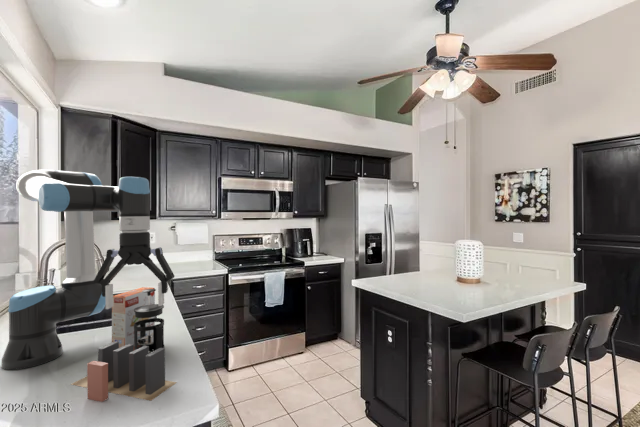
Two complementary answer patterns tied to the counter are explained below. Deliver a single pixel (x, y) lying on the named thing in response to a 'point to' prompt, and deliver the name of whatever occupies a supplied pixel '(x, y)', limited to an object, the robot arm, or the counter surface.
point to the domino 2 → (121, 365)
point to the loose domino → (97, 380)
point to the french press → (158, 330)
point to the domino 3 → (137, 368)
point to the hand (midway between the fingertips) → (135, 306)
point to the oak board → (125, 389)
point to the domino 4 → (155, 370)
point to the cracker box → (129, 315)
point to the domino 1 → (108, 357)
